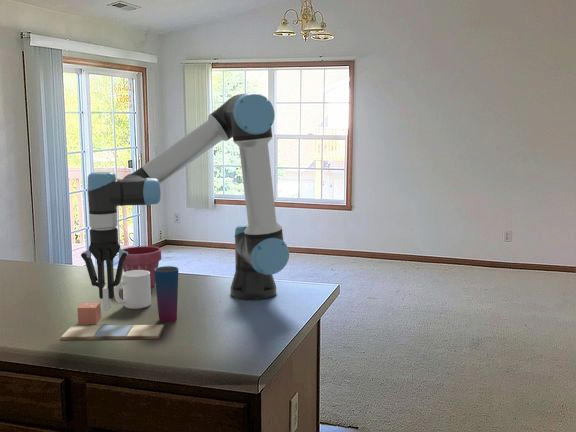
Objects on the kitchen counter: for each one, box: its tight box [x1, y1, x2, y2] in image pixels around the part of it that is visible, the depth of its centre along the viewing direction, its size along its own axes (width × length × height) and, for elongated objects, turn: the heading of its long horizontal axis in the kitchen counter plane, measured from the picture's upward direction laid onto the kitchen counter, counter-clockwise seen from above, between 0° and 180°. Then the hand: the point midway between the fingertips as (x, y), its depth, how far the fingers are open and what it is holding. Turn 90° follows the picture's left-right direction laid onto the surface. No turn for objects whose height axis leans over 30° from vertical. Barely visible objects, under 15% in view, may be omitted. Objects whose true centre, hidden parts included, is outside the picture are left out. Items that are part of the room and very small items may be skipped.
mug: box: [114, 270, 152, 310], centre depth 188 cm, size 12×8×10 cm
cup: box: [154, 265, 179, 323], centre depth 176 cm, size 7×7×15 cm
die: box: [76, 302, 102, 326], centre depth 175 cm, size 5×5×5 cm
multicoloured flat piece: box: [59, 324, 165, 341], centre depth 165 cm, size 26×9×1 cm, turn 92°
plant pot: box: [118, 245, 162, 288], centre depth 212 cm, size 14×14×13 cm
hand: (107, 309), depth 175 cm, fingers closed
